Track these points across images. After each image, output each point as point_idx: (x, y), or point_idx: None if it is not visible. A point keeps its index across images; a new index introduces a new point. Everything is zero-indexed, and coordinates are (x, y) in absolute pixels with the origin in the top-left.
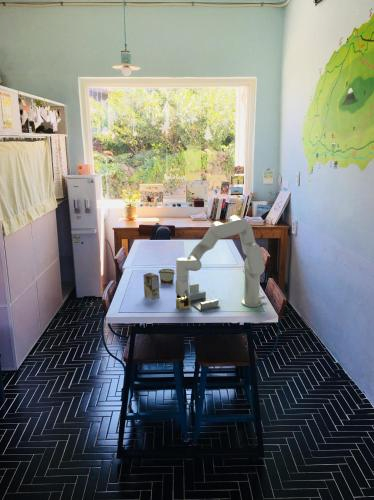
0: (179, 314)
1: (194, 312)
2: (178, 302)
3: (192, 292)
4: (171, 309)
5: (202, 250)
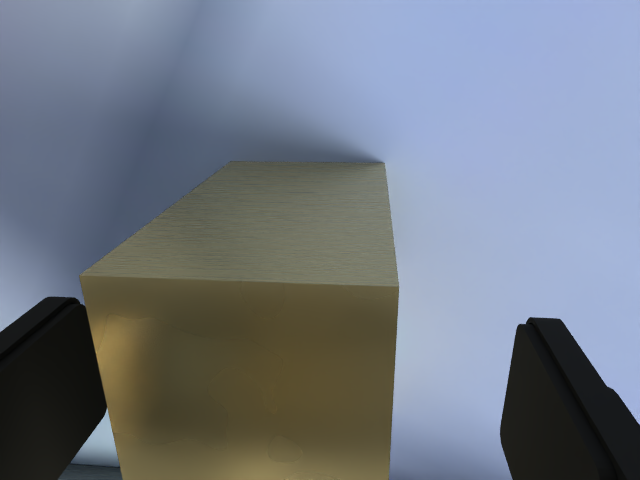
0: (36, 75)
1: None
2: (165, 236)
3: None
4: (404, 26)
5: None
